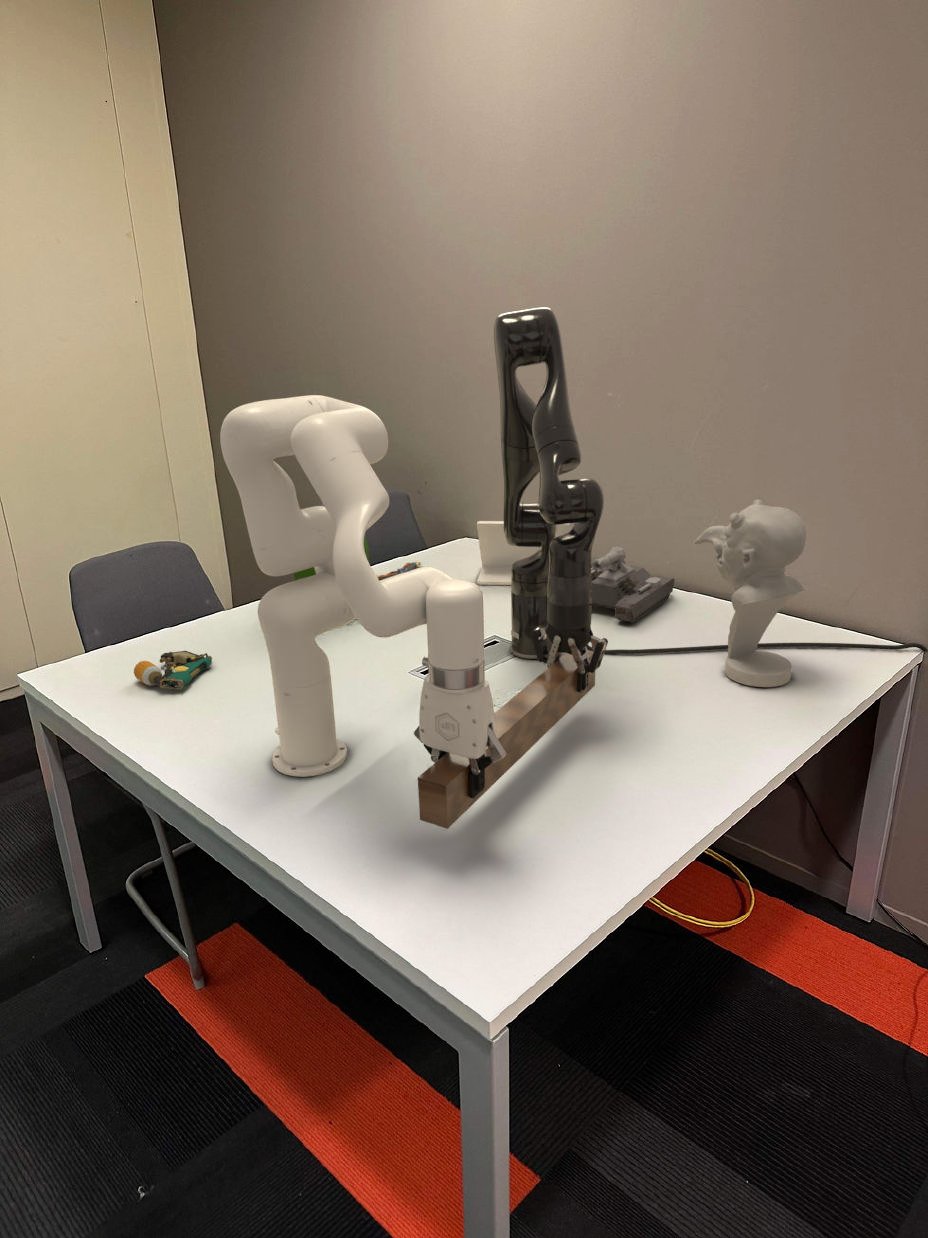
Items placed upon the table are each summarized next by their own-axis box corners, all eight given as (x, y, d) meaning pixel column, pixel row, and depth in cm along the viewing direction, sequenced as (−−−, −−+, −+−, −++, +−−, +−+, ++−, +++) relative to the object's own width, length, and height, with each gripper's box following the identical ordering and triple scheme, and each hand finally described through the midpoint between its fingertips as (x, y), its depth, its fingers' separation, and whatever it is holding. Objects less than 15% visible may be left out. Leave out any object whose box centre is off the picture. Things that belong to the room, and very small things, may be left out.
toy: (603, 584, 229) (605, 530, 224) (673, 597, 218) (677, 540, 213) (555, 612, 210) (556, 553, 205) (630, 627, 199) (633, 566, 194)
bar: (572, 680, 158) (573, 647, 156) (595, 685, 156) (596, 651, 154) (419, 820, 117) (417, 777, 115) (447, 829, 115) (445, 785, 113)
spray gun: (177, 659, 191) (231, 671, 185) (120, 684, 176) (176, 698, 171) (176, 641, 190) (230, 653, 184) (118, 665, 175) (174, 678, 169)
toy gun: (370, 576, 233) (405, 573, 231) (388, 561, 251) (421, 558, 249) (371, 586, 234) (406, 583, 232) (389, 570, 252) (422, 567, 250)
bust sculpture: (725, 639, 191) (739, 484, 178) (813, 678, 171) (835, 506, 158) (670, 654, 184) (680, 494, 171) (754, 696, 164) (772, 518, 151)
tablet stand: (569, 585, 229) (570, 524, 223) (476, 584, 232) (475, 523, 226) (570, 566, 246) (571, 508, 240) (484, 564, 249) (483, 507, 243)
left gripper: (389, 669, 116) (396, 785, 122) (498, 695, 108) (499, 818, 114) (419, 650, 122) (425, 762, 128) (525, 673, 114) (525, 791, 120)
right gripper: (521, 597, 145) (522, 688, 151) (600, 610, 138) (597, 705, 144) (541, 584, 151) (540, 672, 157) (617, 596, 144) (614, 687, 150)
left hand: (460, 787), depth 121 cm, fingers closed on bar, 4 cm apart
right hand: (568, 687), depth 151 cm, fingers closed on bar, 4 cm apart
